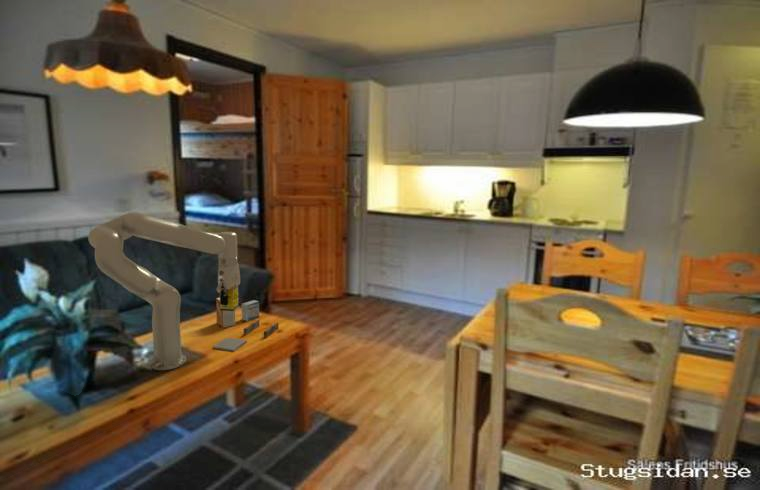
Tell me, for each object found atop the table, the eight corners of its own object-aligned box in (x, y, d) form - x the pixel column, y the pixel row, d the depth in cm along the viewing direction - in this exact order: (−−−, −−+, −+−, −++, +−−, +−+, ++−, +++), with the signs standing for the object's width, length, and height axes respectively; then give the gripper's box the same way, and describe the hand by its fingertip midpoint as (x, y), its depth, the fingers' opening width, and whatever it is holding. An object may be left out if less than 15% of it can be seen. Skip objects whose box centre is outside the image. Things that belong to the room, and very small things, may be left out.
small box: (216, 323, 205) (215, 297, 203) (228, 320, 209) (228, 295, 207) (223, 328, 199) (222, 302, 197) (235, 325, 204) (235, 299, 201)
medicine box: (247, 321, 209) (247, 305, 207) (241, 319, 211) (241, 303, 209) (259, 317, 216) (259, 301, 214) (253, 315, 218) (253, 299, 216)
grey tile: (234, 351, 175) (234, 349, 175) (213, 348, 177) (213, 346, 177) (246, 342, 184) (246, 340, 184) (226, 339, 187) (226, 337, 186)
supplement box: (233, 311, 175) (233, 286, 173) (219, 310, 175) (219, 285, 173) (239, 306, 181) (238, 282, 179) (225, 306, 181) (224, 282, 179)
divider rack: (266, 337, 190) (266, 331, 189) (243, 334, 192) (243, 328, 192) (278, 328, 201) (278, 322, 201) (257, 325, 204) (257, 319, 203)
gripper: (223, 266, 165) (225, 309, 168) (247, 258, 181) (248, 297, 185) (207, 264, 166) (208, 307, 170) (232, 256, 183) (233, 295, 186)
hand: (229, 301), depth 177 cm, fingers closed on supplement box, 6 cm apart
